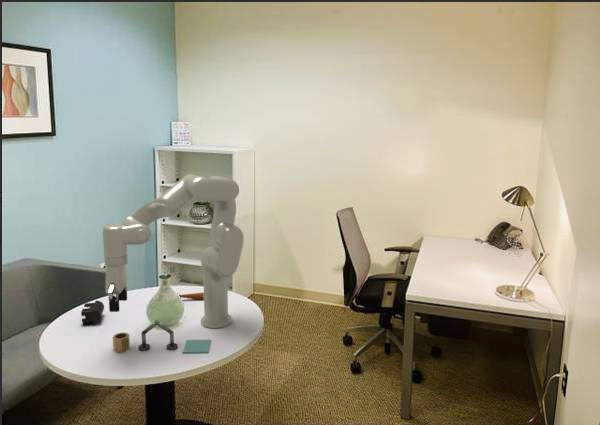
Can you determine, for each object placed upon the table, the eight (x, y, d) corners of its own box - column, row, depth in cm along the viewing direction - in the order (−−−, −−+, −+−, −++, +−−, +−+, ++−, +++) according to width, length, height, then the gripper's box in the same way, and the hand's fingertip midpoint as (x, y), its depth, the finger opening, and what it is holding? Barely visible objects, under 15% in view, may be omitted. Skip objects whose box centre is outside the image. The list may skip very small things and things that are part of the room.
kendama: (204, 294, 214) (157, 294, 209) (203, 305, 216) (157, 305, 211) (203, 287, 219) (158, 286, 215) (203, 298, 222) (158, 298, 217)
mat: (186, 341, 179) (186, 340, 179) (210, 341, 180) (210, 339, 179) (182, 353, 170) (182, 352, 170) (208, 353, 171) (208, 351, 171)
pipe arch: (140, 345, 175) (138, 318, 173) (178, 344, 176) (177, 317, 174) (137, 351, 171) (135, 323, 169) (176, 350, 172) (175, 322, 170)
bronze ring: (116, 345, 175) (115, 332, 174) (131, 344, 176) (130, 332, 174) (112, 352, 170) (111, 339, 169) (127, 352, 170) (126, 339, 169)
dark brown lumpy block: (101, 325, 191) (100, 309, 189) (82, 326, 189) (80, 311, 188) (104, 314, 200) (103, 299, 199) (86, 316, 199) (85, 301, 197)
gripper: (112, 252, 173) (115, 296, 177) (96, 267, 156) (99, 316, 160) (133, 252, 174) (135, 296, 178) (120, 267, 157) (122, 316, 161)
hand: (118, 305), depth 169 cm, fingers open, 9 cm apart
